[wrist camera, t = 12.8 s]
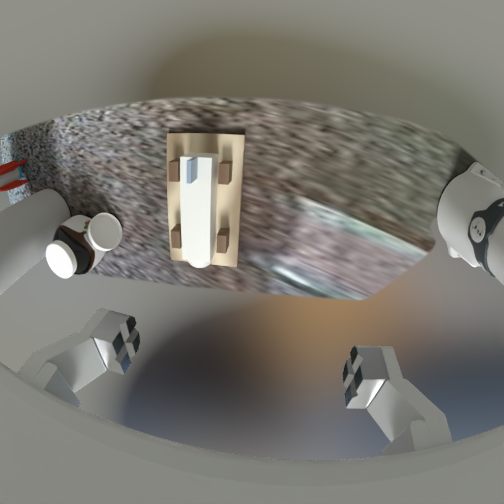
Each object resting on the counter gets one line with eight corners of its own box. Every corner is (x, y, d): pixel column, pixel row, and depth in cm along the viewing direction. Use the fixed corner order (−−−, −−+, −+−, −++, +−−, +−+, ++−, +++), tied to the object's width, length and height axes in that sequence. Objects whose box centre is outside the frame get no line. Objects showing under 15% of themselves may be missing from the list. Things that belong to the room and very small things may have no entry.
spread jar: (71, 233, 50) (37, 259, 40) (86, 190, 45) (46, 212, 35) (112, 266, 52) (83, 298, 42) (132, 225, 48) (98, 255, 37)
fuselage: (218, 153, 40) (206, 161, 33) (215, 260, 48) (205, 285, 41) (190, 152, 40) (172, 160, 33) (190, 258, 48) (177, 281, 42)
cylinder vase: (67, 251, 52) (-5, 318, 30) (33, 223, 50) (-41, 277, 28) (78, 205, 47) (-13, 268, 25) (41, 177, 45) (-49, 224, 22)
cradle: (245, 134, 39) (241, 136, 35) (237, 264, 49) (234, 276, 46) (169, 133, 40) (159, 135, 36) (172, 256, 50) (165, 267, 46)
